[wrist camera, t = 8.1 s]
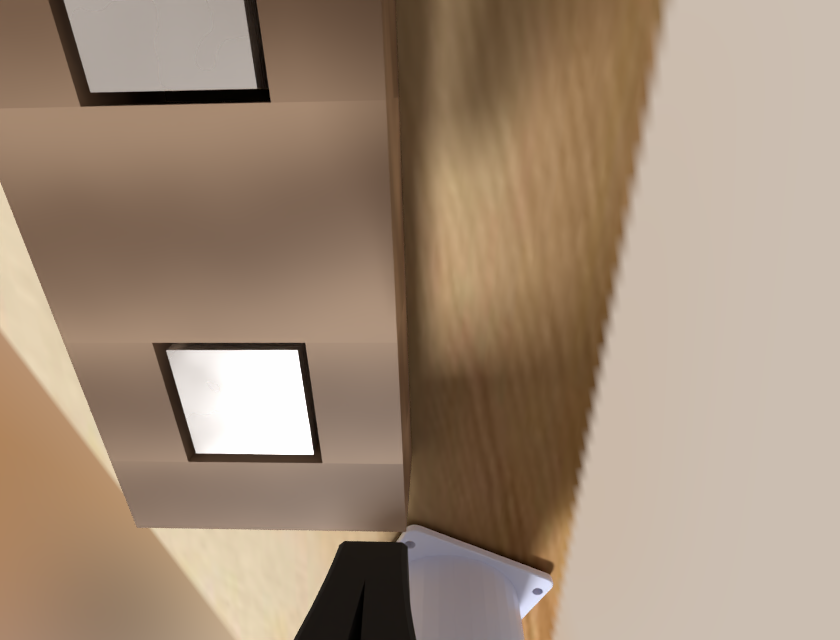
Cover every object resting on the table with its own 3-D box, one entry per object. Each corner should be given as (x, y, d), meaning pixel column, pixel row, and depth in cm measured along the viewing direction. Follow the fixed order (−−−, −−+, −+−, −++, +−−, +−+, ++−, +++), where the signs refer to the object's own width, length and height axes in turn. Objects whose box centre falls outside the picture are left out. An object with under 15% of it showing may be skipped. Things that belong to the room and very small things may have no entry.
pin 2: (335, 389, 19) (313, 454, 16) (238, 389, 20) (196, 453, 16) (324, 299, 18) (297, 350, 14) (218, 299, 18) (165, 350, 14)
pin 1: (299, 88, 15) (257, 88, 11) (171, 91, 15) (90, 92, 11) (280, -78, 13) (222, -138, 9) (134, -73, 13) (26, -129, 10)
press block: (411, 455, 21) (406, 531, 17) (187, 452, 21) (137, 527, 18) (385, -269, 11) (360, -436, 8) (-23, -247, 12) (-228, -395, 8)
